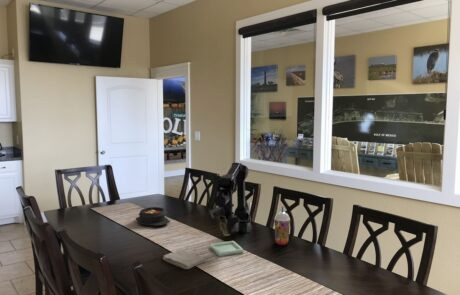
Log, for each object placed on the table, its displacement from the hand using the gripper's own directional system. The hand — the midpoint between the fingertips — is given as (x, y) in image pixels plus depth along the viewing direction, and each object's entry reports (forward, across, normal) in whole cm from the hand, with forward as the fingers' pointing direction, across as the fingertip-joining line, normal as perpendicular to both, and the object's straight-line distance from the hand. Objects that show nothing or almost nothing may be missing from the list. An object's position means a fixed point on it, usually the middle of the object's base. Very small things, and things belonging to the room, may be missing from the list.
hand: (226, 232), depth 187 cm
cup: (+2, 0, 0) cm, 2 cm away
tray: (+9, 0, 0) cm, 9 cm away
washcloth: (+10, +5, -24) cm, 26 cm away
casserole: (+10, -59, -27) cm, 66 cm away
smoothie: (+10, +2, +31) cm, 32 cm away
